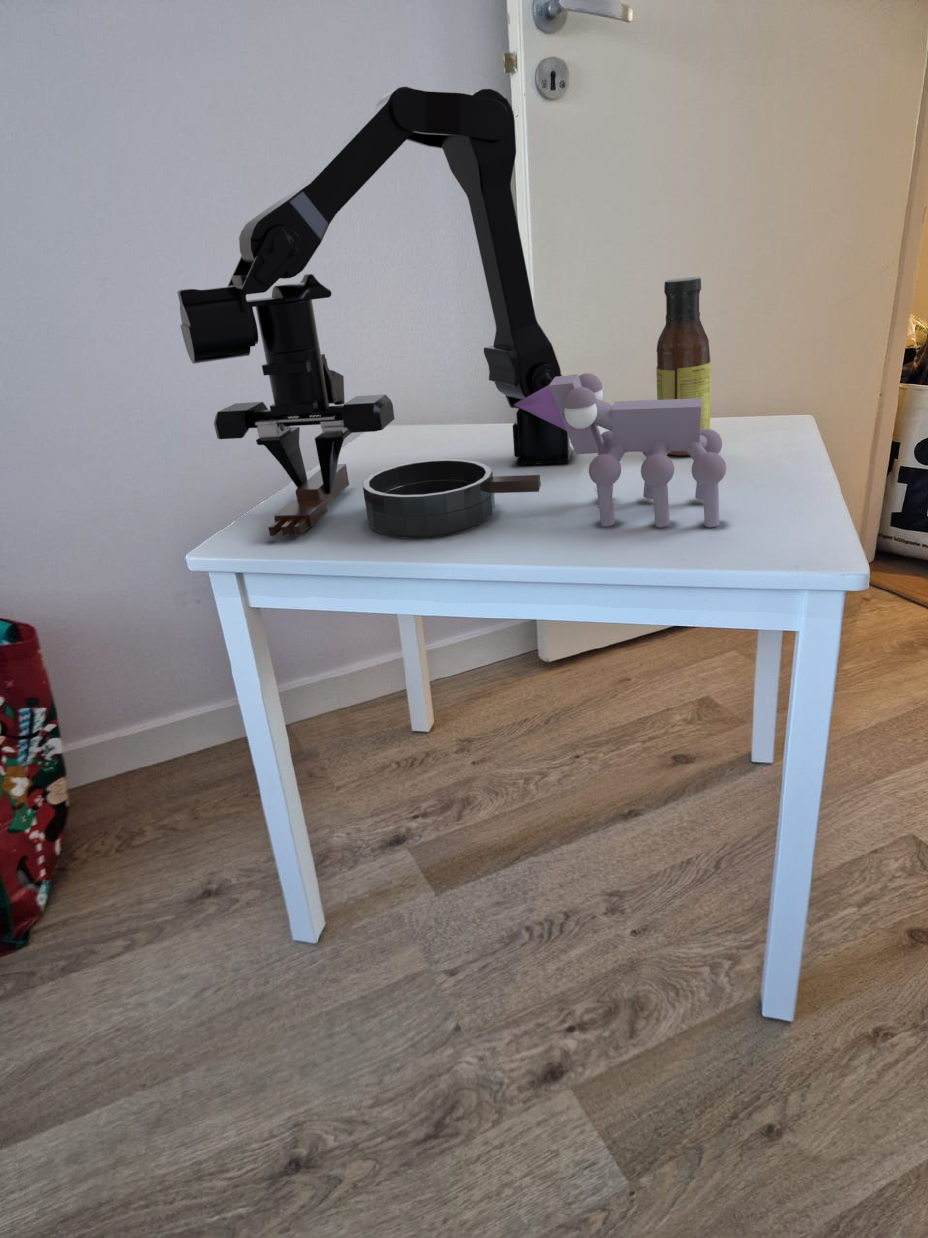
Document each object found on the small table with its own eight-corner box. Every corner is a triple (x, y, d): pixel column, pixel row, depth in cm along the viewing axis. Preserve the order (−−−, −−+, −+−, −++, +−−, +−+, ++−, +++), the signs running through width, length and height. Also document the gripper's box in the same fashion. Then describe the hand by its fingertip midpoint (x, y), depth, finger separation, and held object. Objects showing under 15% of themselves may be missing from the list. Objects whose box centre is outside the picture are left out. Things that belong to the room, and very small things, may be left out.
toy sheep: (509, 531, 77) (500, 390, 71) (531, 497, 86) (524, 369, 80) (722, 533, 71) (731, 380, 66) (721, 497, 81) (729, 359, 75)
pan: (502, 496, 87) (500, 456, 85) (484, 539, 76) (480, 494, 74) (388, 499, 90) (382, 461, 88) (352, 541, 78) (345, 498, 76)
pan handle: (540, 485, 80) (540, 474, 80) (538, 491, 79) (538, 480, 78) (492, 487, 81) (491, 476, 81) (489, 493, 80) (489, 482, 79)
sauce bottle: (715, 445, 98) (724, 273, 90) (699, 459, 94) (707, 279, 85) (664, 443, 102) (668, 277, 93) (647, 455, 97) (649, 282, 88)
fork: (323, 485, 96) (320, 464, 94) (354, 484, 95) (351, 463, 94) (266, 536, 80) (261, 512, 79) (303, 535, 80) (298, 511, 78)
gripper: (397, 332, 87) (414, 470, 94) (242, 344, 91) (269, 475, 97) (369, 347, 77) (390, 499, 84) (196, 359, 81) (230, 504, 88)
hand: (317, 493), depth 88 cm, fingers closed on fork, 2 cm apart
